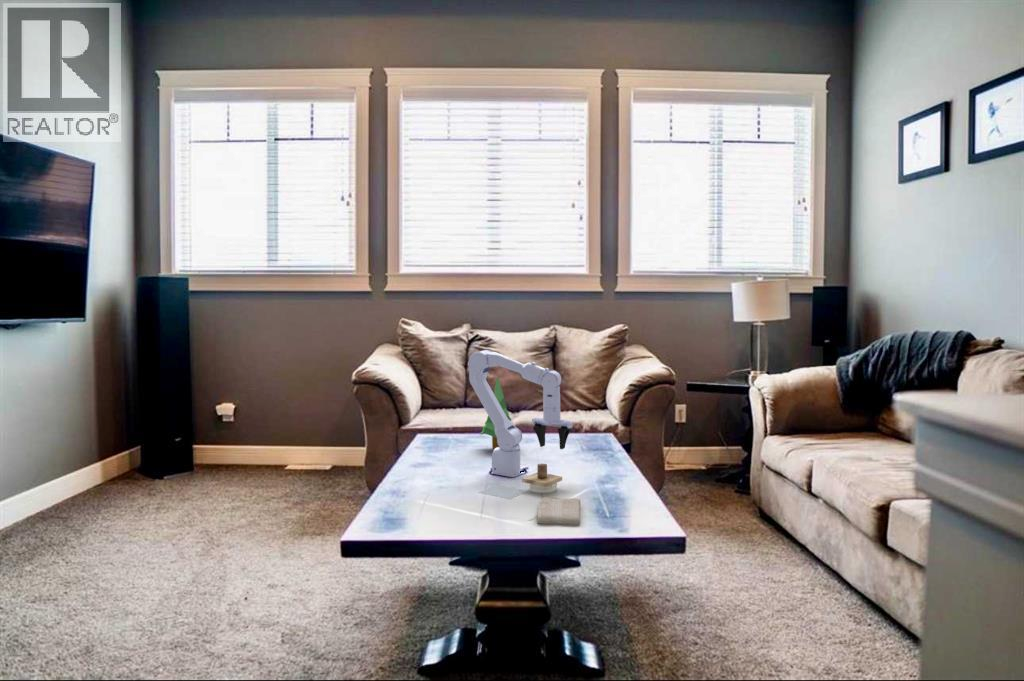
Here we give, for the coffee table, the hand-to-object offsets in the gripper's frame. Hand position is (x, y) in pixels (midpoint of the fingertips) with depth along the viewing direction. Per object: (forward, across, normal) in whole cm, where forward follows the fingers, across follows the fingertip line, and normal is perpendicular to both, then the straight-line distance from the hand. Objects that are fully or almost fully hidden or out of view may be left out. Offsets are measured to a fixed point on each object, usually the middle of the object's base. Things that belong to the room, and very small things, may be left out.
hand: (552, 447), depth 215 cm
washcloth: (+11, +19, -30) cm, 37 cm away
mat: (+10, -4, -23) cm, 26 cm away
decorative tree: (+10, -38, +24) cm, 46 cm away
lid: (+7, +4, -15) cm, 17 cm away
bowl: (+10, +4, -14) cm, 18 cm away
